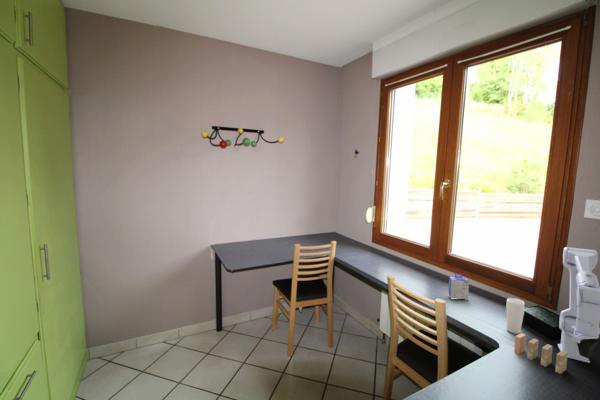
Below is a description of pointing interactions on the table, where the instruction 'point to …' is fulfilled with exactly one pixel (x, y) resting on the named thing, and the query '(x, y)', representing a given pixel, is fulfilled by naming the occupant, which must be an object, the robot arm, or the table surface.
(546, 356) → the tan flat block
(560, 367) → the domino
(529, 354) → the domino
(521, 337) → the salmon orange block
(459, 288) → the ink cartridge box
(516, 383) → the table surface
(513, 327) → the drinking glass
